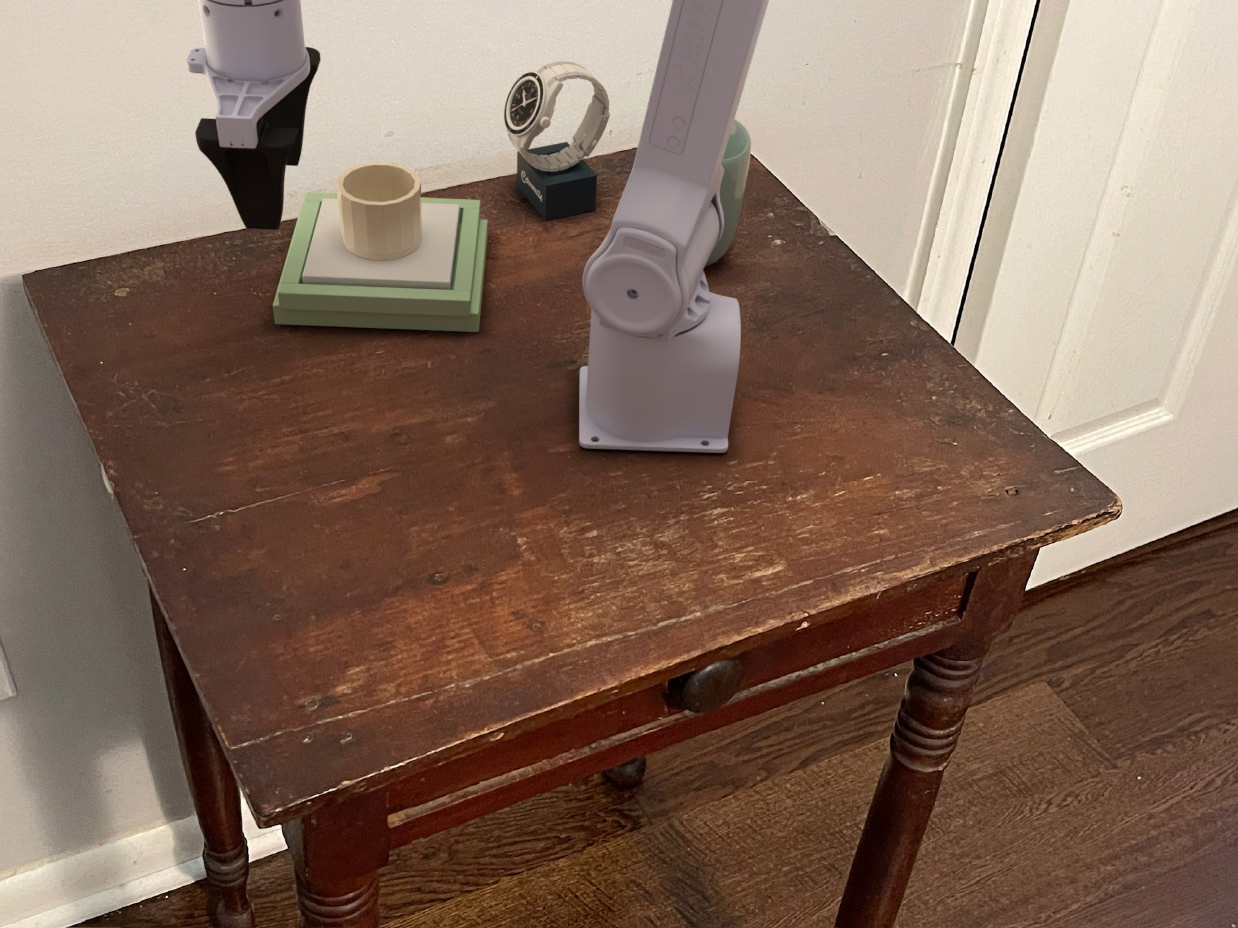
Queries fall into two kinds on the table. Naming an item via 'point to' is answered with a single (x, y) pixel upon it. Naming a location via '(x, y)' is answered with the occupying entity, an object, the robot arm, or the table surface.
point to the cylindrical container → (380, 210)
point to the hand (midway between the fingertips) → (273, 193)
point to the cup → (732, 186)
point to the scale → (385, 303)
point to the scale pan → (415, 270)
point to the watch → (558, 169)
